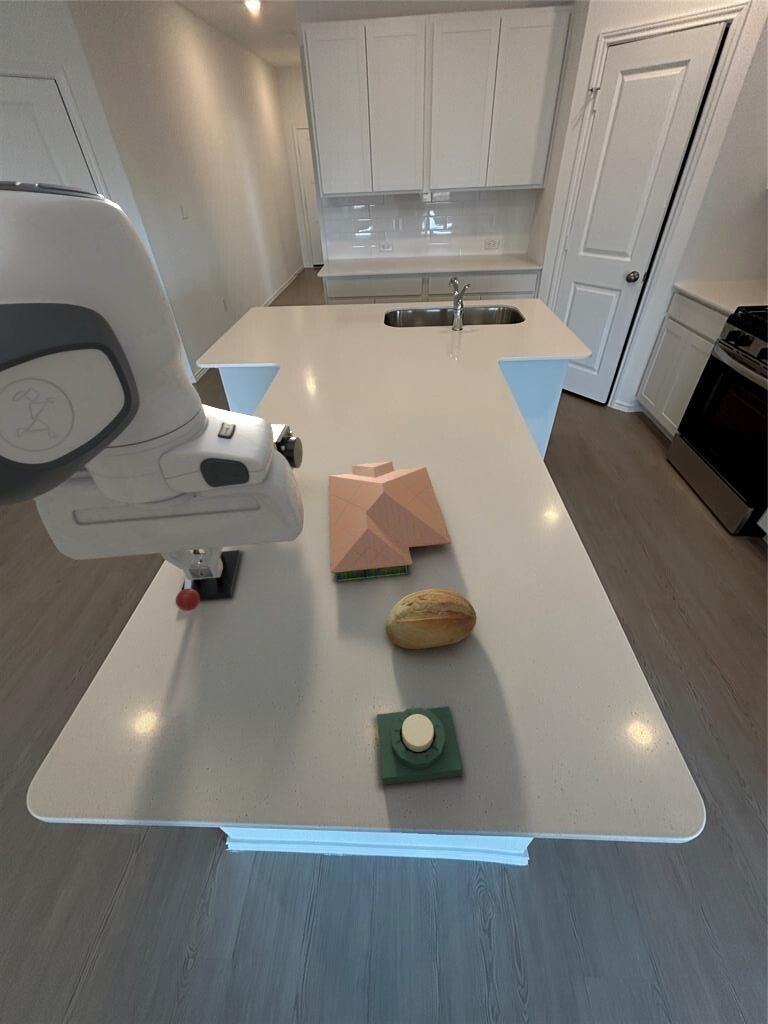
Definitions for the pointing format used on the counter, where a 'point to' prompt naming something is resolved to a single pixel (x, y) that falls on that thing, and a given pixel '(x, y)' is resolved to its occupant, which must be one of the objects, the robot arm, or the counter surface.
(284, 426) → the ball valve
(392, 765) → the control block
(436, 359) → the counter surface
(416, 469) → the house
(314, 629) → the counter surface
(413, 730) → the button
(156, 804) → the counter surface
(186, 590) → the lever
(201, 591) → the bracket
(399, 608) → the bread roll
